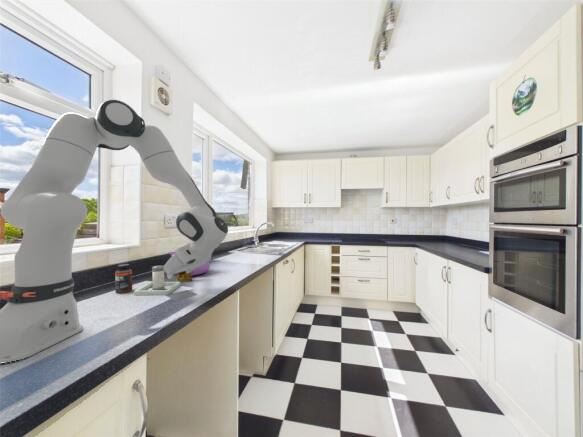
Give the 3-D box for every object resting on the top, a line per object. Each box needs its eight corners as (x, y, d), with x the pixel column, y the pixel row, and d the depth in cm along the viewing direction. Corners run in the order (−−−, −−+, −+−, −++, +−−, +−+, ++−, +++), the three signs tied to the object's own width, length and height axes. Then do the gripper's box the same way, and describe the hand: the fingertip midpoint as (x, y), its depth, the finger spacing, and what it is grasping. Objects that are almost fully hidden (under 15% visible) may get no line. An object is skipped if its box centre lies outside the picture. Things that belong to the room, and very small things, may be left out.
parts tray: (167, 297, 97) (167, 290, 97) (133, 297, 96) (133, 291, 96) (180, 287, 110) (180, 281, 110) (150, 287, 109) (150, 282, 109)
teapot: (188, 268, 148) (188, 243, 148) (214, 272, 138) (214, 245, 138) (151, 276, 128) (151, 248, 127) (179, 282, 118) (179, 251, 118)
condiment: (176, 284, 114) (176, 259, 114) (176, 280, 122) (176, 256, 122) (193, 283, 117) (193, 258, 117) (192, 278, 125) (192, 255, 125)
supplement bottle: (129, 288, 108) (129, 262, 108) (134, 291, 104) (134, 264, 104) (113, 291, 104) (113, 264, 103) (117, 294, 100) (117, 266, 100)
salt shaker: (164, 291, 102) (164, 267, 102) (151, 292, 100) (151, 268, 100) (164, 288, 106) (164, 265, 106) (152, 289, 104) (152, 265, 104)
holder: (198, 297, 98) (198, 294, 98) (175, 303, 91) (175, 300, 91) (187, 292, 103) (187, 289, 103) (165, 297, 97) (165, 295, 97)
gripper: (210, 242, 106) (192, 263, 110) (172, 249, 87) (152, 274, 91) (219, 253, 105) (201, 274, 109) (182, 262, 86) (161, 287, 89)
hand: (178, 274), depth 100 cm, fingers open, 8 cm apart
